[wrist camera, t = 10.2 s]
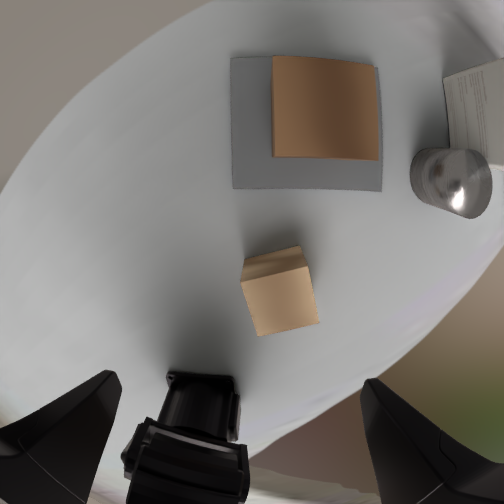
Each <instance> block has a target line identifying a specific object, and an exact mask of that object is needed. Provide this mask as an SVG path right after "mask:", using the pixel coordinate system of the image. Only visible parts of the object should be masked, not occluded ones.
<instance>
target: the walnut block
mask: <svg viewBox="0 0 504 504" xmlns="http://www.w3.org/2000/svg"><path fill="white" fill-rule="evenodd" d="M270 90H271V134H272V158H317V159H336V160H362V161H379V135H378V108H377V93H376V81H375V71H374V66H372V65H367V64H361V63H355V62H349V61H341V60H333V59H324V58H313V57H299V56H273V57H272V69H271V81H270Z"/></svg>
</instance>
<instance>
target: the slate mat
mask: <svg viewBox="0 0 504 504" xmlns="http://www.w3.org/2000/svg"><path fill="white" fill-rule="evenodd" d="M271 69H272V57H245V58H231V134H232V175H233V189H261V188H293V189H336V190H358V191H375V192H382V163H383V141H382V111H381V96H380V84H379V74H378V68H377V67H374V71H375V81H376V93H377V108H378V135H379V161H362V160H336V159H317V158H272V134H271V90H270V81H271Z"/></svg>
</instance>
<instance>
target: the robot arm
mask: <svg viewBox="0 0 504 504" xmlns="http://www.w3.org/2000/svg"><path fill="white" fill-rule="evenodd" d="M171 376H172V377H171ZM166 379H167V382H168V386H169V390H168V393H167V395H166V398H165V401H164V403H163V406H162V409H161V411H160V414H159V417H158V420H157V421H155V420H153V419H152V418H149V417H146V419H145V421H144V423H141V424H138V426H137V428H136V431H135V433H134V435H133V437H132V439H131V440H130V442H129V443H128V445H127V446H126V447H125V449H124V450H123V452H122V453H121V460H122V461H123V463H124V478H127V479H129V480H131V482H130V486H129V490H128V494H127V498H126V504H244V503H245V501H246V499H247V496H248V492H249V487H250V471H249V462H248V452H247V445H244V444H235V443H231V441H235V442H236V441H237V440H238V435H239V425H240V415H241V405H240V395H239V394H236V393H235V382H234V378H233V377H231V376H219V375H203V374H191V373H180V372H168V373H167V375H166ZM121 393H122V386H121V384H120V381H119V379H118V377H117V374H116V373H115V372H114V371H111V370H104V371H102V372H100V373H99V374H97V375H95V376H94V377H92V378H91V379H89V380H87V381H86V382H84V383H82V384H81V385H79V386H77V387H76V388H74V389H72V390H71V391H69V392H67V393H66V394H64V395H62V396H61V397H59V398H57V399H56V400H54V401H52V402H50V403H49V404H47V405H45V406H44V407H42V408H40V409H39V410H37V411H35V412H33V413H31V414H30V415H28V416H26V417H24V418H22V419H20V420H18V421H16V422H14V423H11V424H9V425H7V426H4V427H2V428H0V504H86V503H87V500H88V497H89V494H90V490H91V487H92V484H93V481H94V478H95V474H96V471H97V468H98V465H99V462H100V459H101V457H102V454H103V451H104V448H105V445H106V442H107V440H108V437H109V434H110V432H111V429H112V426H113V423H114V420H115V416H116V412H117V408H118V404H119V400H120V397H121ZM360 402H361V409H362V416H363V423H364V430H365V435H366V439H367V443H368V447H369V451H370V455H371V459H372V463H373V467H374V471H375V476H376V480H377V484H378V489H379V492H380V498H381V502H382V504H504V464H502V463H495V462H492V461H490V460H488V459H486V458H484V457H483V456H481V455H479V454H477V453H476V452H474V451H472V450H470V449H469V448H467V447H466V446H464V445H462V444H461V443H459V442H458V441H456V440H455V439H453V438H452V437H451V436H449V435H448V434H447V433H446V432H444V431H443V430H441V429H440V428H439V427H438V426H436V425H435V424H434V423H433V422H431V421H430V420H429V419H428V418H426V417H425V416H424V415H423V414H421V413H420V412H419V411H418V410H416V409H415V408H414V407H413V406H411V405H410V404H409V403H408V402H406V401H405V400H404V399H403V398H401V397H400V396H399V395H398V394H396V393H395V392H394V391H393V390H391V389H390V388H389V387H388V386H387V385H385V384H384V383H383V382H382V381H380V380H379V379H378V378H370V379H366V380H365V382H364V385H363V388H362V391H361V394H360Z"/></svg>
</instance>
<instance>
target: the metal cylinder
mask: <svg viewBox="0 0 504 504" xmlns="http://www.w3.org/2000/svg"><path fill="white" fill-rule="evenodd" d="M410 182H411V186H412V189H413V191H414V193H415V195H416V196H417V197H418V198H419V199H420V200H421V201H422V202H424V203H426V204H429V205H432V206H435V207H438V208H441V209H443V210H446V211H449V212H452V213H454V214H457V215H460V216H462V217H465V218H468V219H473V218H476V217H478V216H480V215H481V214H482V213H483V212H484V211H485V209H486V208H487V206H488V204H489V202H490V198H491V194H492V175H491V171H490V168H489V165H488V163H487V161H486V160H485V158H484V157H483V156H482V155H481V154H480V153H479V152H478V151H476V150H473V149H459V148H427V149H423V150H421V151H420V152H419V153H418V154H417V155H416V156H415V157H414V159H413V161H412V164H411V168H410Z"/></svg>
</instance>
